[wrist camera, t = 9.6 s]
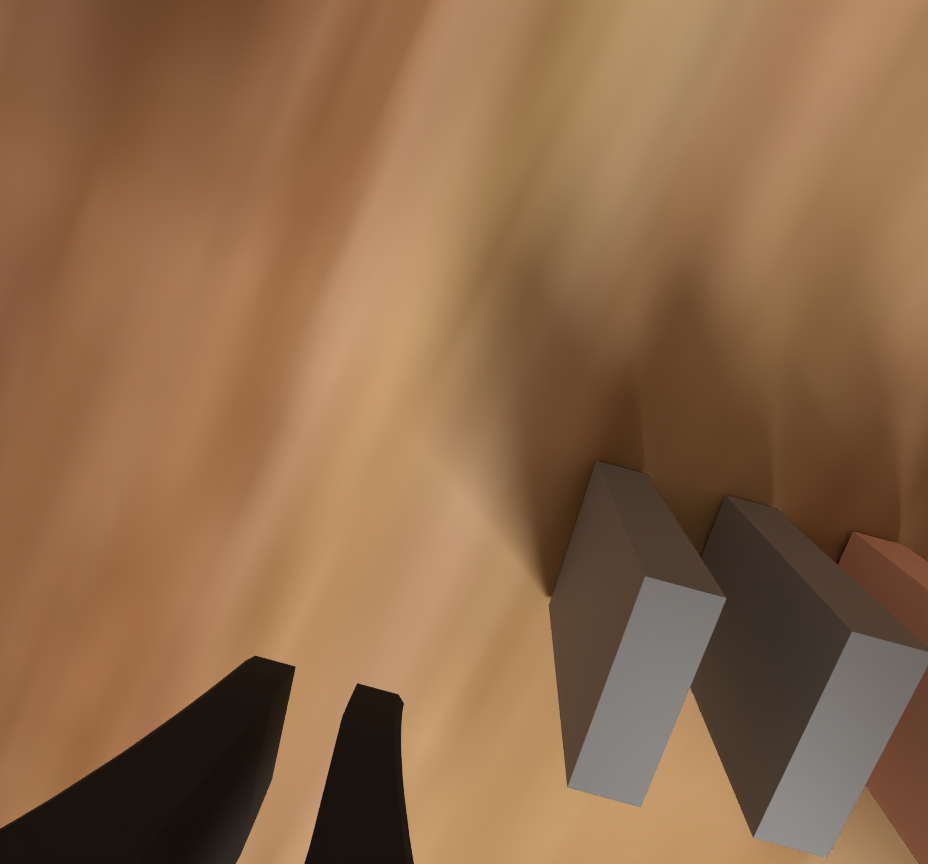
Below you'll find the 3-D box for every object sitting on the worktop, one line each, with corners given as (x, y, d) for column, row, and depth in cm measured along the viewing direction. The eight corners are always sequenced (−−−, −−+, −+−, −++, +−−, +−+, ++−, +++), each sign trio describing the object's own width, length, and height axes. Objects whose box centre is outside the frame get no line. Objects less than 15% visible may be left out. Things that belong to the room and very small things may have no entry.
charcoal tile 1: (647, 474, 18) (726, 598, 11) (596, 617, 19) (640, 807, 13) (596, 460, 18) (644, 575, 11) (548, 605, 19) (567, 787, 13)
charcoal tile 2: (776, 508, 18) (934, 653, 11) (717, 650, 19) (826, 857, 12) (725, 494, 18) (851, 631, 11) (669, 637, 19) (753, 837, 13)
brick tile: (904, 544, 18) (1139, 712, 11) (836, 684, 19) (1011, 911, 12) (852, 531, 18) (1056, 689, 11) (789, 672, 19) (937, 890, 12)
